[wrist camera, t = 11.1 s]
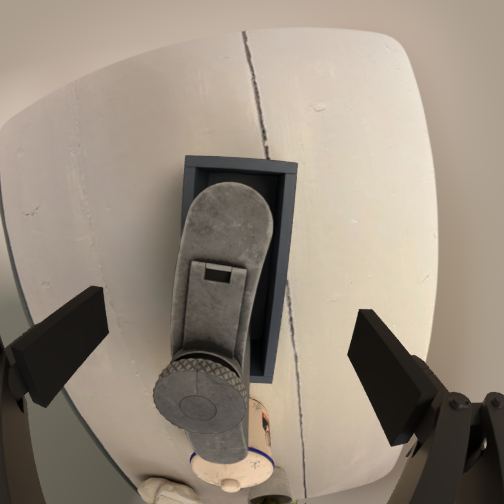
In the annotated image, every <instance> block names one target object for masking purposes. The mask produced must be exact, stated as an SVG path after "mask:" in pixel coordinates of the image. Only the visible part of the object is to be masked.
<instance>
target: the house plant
mask: <svg viewBox="0 0 504 504" xmlns="http://www.w3.org/2000/svg"><path fill="white" fill-rule="evenodd" d="M297 500H298V499H297ZM293 501H294V498H293V495H292V492H291V489H290V486H289V483H288V480H287V477H286V474H285V471H284V470H283V469H281V468H278V467H274V470H273V472H272V474H271V476H270V477H269V478H268V479H267V480H265V481H264V482H262V483H260V484H257V485H254V486H251V489H250V493H249V498H248V504H297V501H296V502H294V503H292V502H293ZM305 504H306V503H305Z"/></svg>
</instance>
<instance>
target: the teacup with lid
mask: <svg viewBox="0 0 504 504" xmlns="http://www.w3.org/2000/svg"><path fill="white" fill-rule="evenodd" d="M190 465H191V468H192V470H193V472H194V473H195V474H196V475H197V476H198V477H199V478H201V479H202V480H204V481H206V482H208V483H211V484H214V485H217V486H221V489H222V490H224V491H226V492H237V491H239V490H240V488H244V487H250V486H254V485H257V484H260V483H262V482H264V481H265V480H267V479H268V478H269V477H270V476H271V474H272V472H273V470H274V462H273V460H272V458H271V442H270V427H269V415H268V412H267V410H266V409H265V408H264V407H263V406H262V405H261V404H260V403H258V402H257V401H255V400H253V399H250V398H249V436H248V455H247V457H246V458H245V459H244V460H242V461H240V462H238V463H235V464H227V465H224V464H215V463H211V462H208V461H206V460H204V459H202V458H200V457H199V456H198V455H197V454H196V453H195V451H194V453H193V454H192V455H191V458H190Z"/></svg>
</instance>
